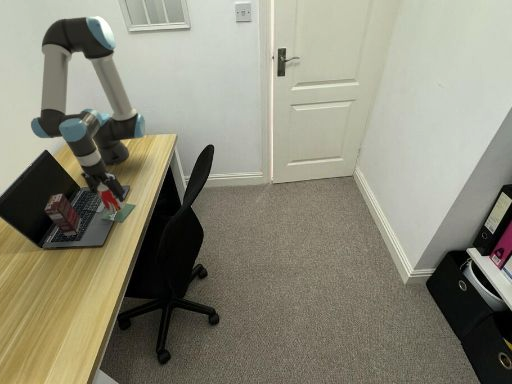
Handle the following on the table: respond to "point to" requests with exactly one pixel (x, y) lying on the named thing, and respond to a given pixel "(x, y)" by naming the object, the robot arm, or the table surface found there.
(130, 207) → the coaster
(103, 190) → the soda can
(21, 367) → the table surface
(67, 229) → the supplement box
